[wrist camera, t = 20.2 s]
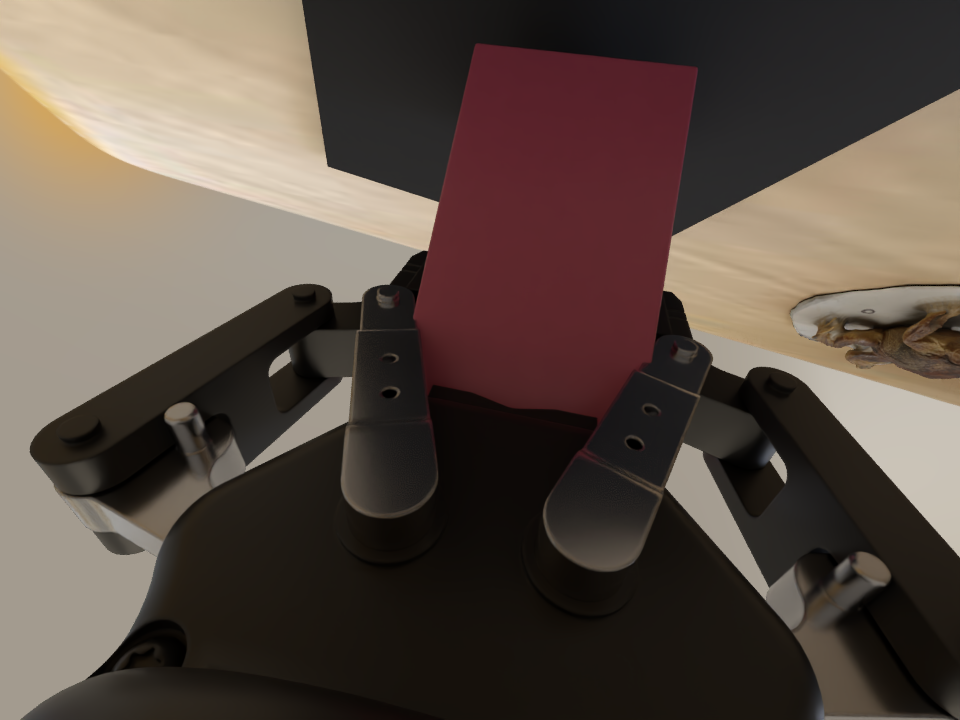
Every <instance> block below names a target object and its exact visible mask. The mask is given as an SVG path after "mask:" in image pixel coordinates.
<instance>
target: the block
mask: <svg viewBox="0 0 960 720" xmlns="http://www.w3.org/2000/svg"><path fill="white" fill-rule="evenodd" d="M697 73H698V68H697V67H695V66H685V65H676V64H667V63H658V62H648V61H639V60H630V59H621V58H611V57H602V56H593V55H584V54H574V53H565V52H556V51H547V50H537V49H528V48H519V47H510V46H500V45H491V44H482V43H477V44H476V45H475V47H474V52H473V56H472V60H471V65H470V69H469V74H468V78H467V82H466V87H465V91H464V96H463V100H462V104H461V109H460V113H459V117H458V122H457V126H456V131H455V135H454V139H453V144H452V148H451V153H450V157H449V161H448V166H447V170H446V175H445V179H444V183H443V188H442V192H441V196H440V201H439V205H438V210H437V214H436V218H435V223H434V227H433V232H432V236H431V240H430V245H429V249H428V254H427V258H426V262H425V267H424V271H423V275H422V280H421V284H420V289H419V293H418V297H417V302H416V306H415V311H414V315H413V319H415V320H417V326H418V329H420V334H421V342H422V351H423V360H424V368H425V377H426V386H427V394H428V395H429V392H430V390H431V388H432V386H433V385H438V386H443V387H448V388H453V389H458V390H462V391H467V392H472V393H475V394H477V395H480V396H482V397H485V398H487V399H490V400H492V401H495V402H497V403H500V404H502V405H505V406H507V407H510V408H516V409H557V410H562V411H566V412H571V413H576V414H581V415H586V416H591V417H596V418H597V425H598V424H599V422H600V421H601V419H602V418H603V416H604V414H605V413H606V411H607V410H608V408H609V407H610V405H611V404H612V402H613V400H614V399H615V397H616V396H617V394H618V393H619V391H620V389H621V388H622V386H623V385H624V383H625V382H626V380H627V379H628V377H629V375H630V374H631V372H632V371H633V370H634V369H636V370H638V369H639V368H640V366H641V365H642V363H643V362H646V363H651V362H652V357H653V351H654V344H655V338H656V332H657V325H658V319H659V313H660V307H661V300H662V294H663V288H664V281H665V275H666V269H667V262H668V256H669V250H670V243H671V237H672V231H673V224H674V218H675V212H676V205H677V199H678V193H679V186H680V180H681V174H682V167H683V161H684V155H685V148H686V142H687V136H688V130H689V123H690V117H691V111H692V104H693V98H694V92H695V85H696V79H697Z"/></svg>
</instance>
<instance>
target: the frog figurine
mask: <svg viewBox="0 0 960 720" xmlns="http://www.w3.org/2000/svg"><path fill="white" fill-rule="evenodd" d="M790 316H791V319H792V321H793V326H794V328H795V329H796V331H797V332H798V333H799V335H800V336H804V337H805V338H808V339H809V340H814V341H818V342H822V343H824V344H826V345H827V346H831V347H835V348H842V347H844V346H848V347H851V348H853V349H854V350H849V351H848V352H847V353H846V355H845V358H846V360H848V361H849V362H851V363H853V364H856V367H857V368H861V369H870V368H871V367H873V366H874V365H883V364H891V363H894V364H896V366H897V367H899V368H902V369H905V370H907V371H910V372H913V373H916V374H919V375H921V376H923V377H926V378H930V379H951V378H960V287H958V286H906V287H896V288H887V289H880V290H870V291H852V292H847V293H840V294H839V293H838V294H832V295H825V296H824V295H823V296H816V297H814V298H812V299H808V300H805V301H803V302H802V303H799V304H798V305H797V306H796V308H795V309H794V310H793V309H792V310H791V313H790Z"/></svg>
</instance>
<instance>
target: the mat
mask: <svg viewBox="0 0 960 720" xmlns="http://www.w3.org/2000/svg"><path fill="white" fill-rule="evenodd" d="M302 4H303V10H304V16H305V23H306V29H307V36H308V42H309V49H310V55H311V62H312V68H313V74H314V81H315V87H316V94H317V100H318V107H319V113H320V120H321V126H322V133H323V139H324V145H325V152H326V158H327V165H328V167H331V168H334V169H338V170H341V171H344V172H347V173H350V174H353V175H356V176H359V177H363V178H366V179H369V180H372V181H375V182H378V183H381V184H384V185H387V186H391V187H394V188H397V189H400V190H403V191H406V192H409V193H412V194H416V195H419V196H422V197H425V198H428V199H431V200H434V201H437V202H439V201H440V196H441V192H442V188H443V183H444V179H445V175H446V170H447V166H448V161H449V157H450V153H451V148H452V144H453V139H454V135H455V131H456V126H457V122H458V117H459V113H460V109H461V104H462V100H463V96H464V91H465V87H466V82H467V78H468V74H469V69H470V65H471V60H472V56H473V52H474V47H475V45H476V44H477V43H482V44H491V45H500V46H510V47H519V48H528V49H537V50H547V51H556V52H565V53H574V54H584V55H593V56H602V57H611V58H621V59H630V60H639V61H648V62H658V63H667V64H676V65H685V66H695V67H697V68H698V73H697V79H696V85H695V92H694V98H693V104H692V111H691V117H690V123H689V130H688V136H687V142H686V148H685V155H684V161H683V167H682V174H681V180H680V186H679V193H678V199H677V205H676V212H675V218H674V224H673V231H672V236H673V235H675V234H677V233H679V232H681V231H683V230H685V229H687V228H689V227H691V226H693V225H695V224H697V223H698V222H700V221H702V220H704V219H706V218H708V217H710V216H712V215H714V214H716V213H718V212H720V211H722V210H724V209H726V208H728V207H730V206H732V205H734V204H736V203H738V202H739V201H741V200H743V199H745V198H747V197H749V196H751V195H753V194H755V193H757V192H759V191H761V190H763V189H765V188H767V187H769V186H771V185H773V184H775V183H777V182H779V181H781V180H782V179H784V178H786V177H788V176H790V175H792V174H794V173H796V172H798V171H800V170H802V169H804V168H806V167H808V166H810V165H812V164H814V163H816V162H818V161H820V160H822V159H823V158H825V157H827V156H829V155H831V154H833V153H835V152H837V151H839V150H841V149H843V148H845V147H847V146H849V145H851V144H853V143H855V142H857V141H859V140H861V139H863V138H865V137H866V136H868V135H870V134H872V133H874V132H876V131H878V130H880V129H882V128H884V127H886V126H888V125H890V124H892V123H894V122H896V121H898V120H900V119H902V118H904V117H906V116H908V115H909V114H911V113H913V112H915V111H917V110H919V109H921V108H923V107H925V106H927V105H929V104H931V103H933V102H935V101H937V100H939V99H941V98H943V97H945V96H947V95H949V94H950V93H952V92H954V91H956V90H958V89H960V0H302Z"/></svg>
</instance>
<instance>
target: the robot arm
mask: <svg viewBox="0 0 960 720" xmlns="http://www.w3.org/2000/svg"><path fill="white" fill-rule="evenodd" d="M427 254H428V251H422V252H420V253H418V254H415V255H414V256H412V257H411V258H410V260H409V261H408V262H407V264H406V265H405V266H404V267H403V268H402V271H400V272H399V273H398V275H397V276H396V277H395V278H394V280H393V281H392V282H391V284H390V285H380V286H376V287H373V288H370V289H368V290H367V291H366V292H365V293H364V294H363V297H362V302H353V303H333V300H332V293H331V292H330V290H329V289H328V288H326V287H324V286H321V285H316V284H300V285H295V286H291V287H288V288H286V289H284V290H282V291H281V292H279V293H277V294H275V295H273V296H272V297H270V298H268V299H266V300H265V301H263V302H261V303H259V304H258V305H256V306H254V307H252V308H251V309H249V310H247V311H245V312H244V313H242V314H240V315H238V316H237V317H235V318H233V319H231V320H230V321H228V322H226V323H224V324H223V325H221V326H219V327H217V328H215V329H214V330H212V331H210V332H209V333H207V334H205V335H203V336H201V337H200V338H198V339H196V340H195V341H193V342H191V343H189V344H188V345H186V346H184V347H182V348H180V349H179V350H177V351H175V352H173V353H172V354H170V355H168V356H166V357H165V358H163V359H161V360H159V361H157V362H156V363H154V364H152V365H150V366H149V367H147V368H145V369H143V370H142V371H140V372H138V373H137V374H135V375H133V376H131V377H129V378H128V379H126V380H125V381H123V382H121V383H119V384H117V385H115V386H114V387H112V388H110V389H108V390H107V391H105V392H103V393H101V394H99V395H98V396H96V397H94V398H92V399H91V400H89V401H87V402H85V403H84V404H82V405H80V406H78V407H77V408H75V409H73V410H72V411H70V412H68V413H66V414H64V415H63V416H61V417H59V418H57V419H56V420H54V421H52V422H51V423H50V424H48V425H47V426H45V427H44V428H43V429H42V430H41V431H40V432H39V433H38V434H37V435H36V436H35V438H34V439H33V441H32V442H31V446H30V454H31V456H32V457H33V459H34V460H35V461H36V462H37V464H38V465H39V466H40V467H41V468H42V470H43V471H44V472H45V473H46V475H47V476H48V477H49V478H50V480H51V481H52V482H53V483H54V488H55V490H56V491H57V493H58V494H59V495H60V496H61V498H62V499H63V500H64V501H65V503H66V504H67V505H68V506H69V507H70V509H71V510H72V511H73V512H74V513H75V515H76V516H77V517H78V518H79V519H80V521H81V522H82V523H83V524H84V525H85V527H86V528H88V529H90V530H92V531H93V532H94V534H95V535H96V536H97V537H98V539H99V540H100V541H101V542H102V543H103V545H104V546H105V547H106V548H107V549H108V550H109V551H111V552H112V553H115V554H120V555H130V554H135V553H139V552H143V551H145V550H146V551H148V552H149V553H151V554H153V555H154V556H156V557H157V560H156V565H155V568H154V573H153V577H152V581H151V584H150V587H149V591H148V593H147V596H146V599H145V601H144V603H143V606H142V608H141V610H140V613H139V615H138V617H137V619H136V621H135V623H134V624H133V626H132V628H131V630H130V632H129V634H128V635H127V637H126V638H125V640H124V641H123V642H122V644H121V645H120V646H119V647H118V649H117V650H116V651H115V652H114V653H113V654H112V655H111V657H110V658H109V659H108V660H107V661H106V662H105V663H104V664H103V665H102V666H101V667H100V668H98V669H97V670H96V671H95V672H94V673H93V674H92V675H90V676H89V677H88V678H87V679H86V680H84V681H82V682H80V683H77V684H75V685H73V686H71V687H69V688H67V689H65V690H62V691H61V692H59V693H57V694H56V695H54V696H52V697H50V698H49V699H47V700H45V701H44V702H42V703H41V704H40V705H38V706H37V707H36V708H34V709H33V710H32V711H30V712H29V713H28V714H27V715H25V716H24V717H23V718H22V719H21V720H960V557H959V556H958V555H957V554H956V553H955V552H954V550H952V548H951V547H950V546H949V545H948V544H947V543H946V541H945V540H944V539H943V538H942V537H941V536H940V535H939V534H938V532H937V531H936V530H935V529H934V528H933V527H932V526H931V525H930V524H929V522H928V521H927V520H926V519H925V518H924V517H923V516H922V514H921V513H920V512H919V511H918V510H917V509H916V508H915V507H914V505H913V504H912V503H911V502H910V501H909V500H908V499H907V498H906V496H905V495H904V494H903V493H902V492H901V491H900V490H899V489H898V488H897V486H896V485H895V484H894V483H893V482H892V481H891V480H890V478H889V477H888V476H887V475H886V474H885V473H884V472H883V470H882V469H881V468H880V467H879V466H878V465H877V464H876V463H875V461H874V460H873V459H872V458H871V457H870V456H869V455H868V454H867V452H866V451H865V450H864V449H863V448H862V447H861V446H860V445H859V443H858V442H857V441H856V440H855V439H854V438H853V437H852V436H851V434H850V433H849V432H848V431H847V430H846V429H845V428H844V427H843V426H842V424H841V423H840V422H839V421H838V420H837V419H836V418H835V416H834V415H833V414H832V413H831V412H830V411H829V410H828V408H827V407H826V406H825V405H824V404H823V403H822V402H821V401H820V399H819V398H818V397H817V396H816V395H815V394H814V393H813V392H812V390H811V389H810V388H809V387H808V386H807V385H806V384H805V383H803V382H802V381H801V380H799V379H798V378H797V377H795V376H793V375H791V374H789V373H787V372H784V371H781V370H778V369H775V368H770V367H756V368H753V369H751V370H750V371H749V373H748V374H747V376H746V378H745V379H744V378H741V377H738V376H736V375H733V374H730V373H727V372H725V371H722V370H720V369H718V368H716V367H714V366H712V365H711V364H712V361H713V356H712V354H711V352H710V351H709V350H708V349H707V348H706V347H705V346H704V345H702V344H701V343H699V342H697V341H695V340H693V337H692V334H691V331H690V328H689V324H688V321H686V320H687V318H686V315H685V313H684V308H683V305H682V302H681V301H680V300H679V299H678V298H677V297H676V296H675V295H674V294H673V293H672V292H667V291H663V294H662V300H661V307H660V313H659V319H658V325H657V332H656V338H655V344H654V351H653V357H652V362H651V363H646V362H643V363H642V365H641V366H640V368H639V369H638V370H636V369H634V370H633V371H632V372H631V374H630V375H629V377H628V379H627V380H626V382H625V383H624V385H623V386H622V388H621V389H620V391H619V393H618V394H617V396H616V397H615V399H614V400H613V402H612V404H611V405H610V407H609V408H608V410H607V411H606V413H605V414H604V416H603V418H602V419H601V421H600V422H599V424H598V425H597V418H596V417H591V416H586V415H581V414H576V413H571V412H566V411H562V410H557V409H516V408H510V407H507V406H505V405H502V404H500V403H497V402H495V401H492V400H490V399H487V398H485V397H482V396H480V395H477V394H475V393H472V392H467V391H462V390H458V389H453V388H448V387H443V386H438V385H433V386H432V388H431V390H430V392H429V395H428V394H427V386H426V377H425V368H424V360H423V351H422V342H421V334H420V329H418V326H417V320H415V319H413V315H414V311H415V306H416V302H417V297H418V293H419V289H420V284H421V280H422V275H423V271H424V267H425V262H426V258H427ZM288 349H289V353H290V357H291V362H290V363H288V364H287V365H286V366H284V367H283V368H281V369H280V370H279V371H277V372H276V373H275V374H273V375H272V376H271V377H269V376H268V375H269V374H268V372H269V368H270V365H271V364H272V362H273V361H274V359H275V358H277V357H278V356H279V355H281V354H282V353H284V352H285V351H286V350H288ZM343 377H352V387H351V401H350V413H349V422H347V423H345V424H343V425H341V426H339V427H337V428H335V429H332V430H330V431H328V432H327V433H324V434H322V435H320V436H318V437H316V438H314V439H312V440H310V441H308V442H306V443H304V444H302V445H300V446H298V447H296V448H294V449H292V450H290V451H287V452H285V453H283V454H281V455H279V456H277V457H275V458H273V459H271V460H269V461H267V462H265V463H263V464H261V465H259V466H257V467H255V468H253V469H251V470H249V471H247V472H245V469H246V466H247V465H248V464H249V463H250V462H252V461H253V460H254V459H255V458H256V457H257V456H258V455H259V454H261V453H262V452H263V451H264V450H265V449H266V448H267V447H268V446H270V445H271V444H272V443H273V442H274V441H275V440H276V439H277V438H279V437H280V436H281V435H282V434H283V433H284V432H285V431H286V430H287V429H289V428H290V427H291V426H292V425H293V424H294V423H295V422H296V421H298V420H299V419H300V418H301V417H302V416H303V415H304V414H305V413H306V412H308V411H309V410H310V409H311V408H312V407H313V406H314V405H315V404H317V403H318V402H319V401H320V400H321V399H322V398H323V397H324V396H325V395H326V394H328V393H329V392H330V391H331V390H332V389H333V388H334V387H335V386H337V385H338V384H339V383H340V382H341V380H342V378H343ZM682 443H685V444H688V445H690V446H692V447H695V448H697V449H699V450H701V451H703V457H704V460H705V463H706V464H707V466H708V468H709V470H710V472H711V474H712V476H713V478H714V480H715V482H716V484H717V486H718V488H719V490H720V492H721V494H722V496H723V498H724V500H725V502H726V504H727V506H728V508H729V510H730V512H731V514H732V516H733V518H734V520H735V521H736V523H737V525H738V527H739V529H740V531H741V533H742V535H743V537H744V539H745V541H746V543H747V545H748V547H749V549H750V551H751V553H752V555H753V557H754V559H755V561H756V563H757V565H758V567H759V568H760V570H761V573H762V574H763V576H764V578H765V580H766V582H767V584H768V586H769V590H768V592H767V596H766V600H765V599H764V598H763V597H762V596H761V595H760V594H759V593H758V592H757V590H756V589H755V588H754V587H753V586H752V585H751V584H750V583H749V581H748V580H747V579H746V578H745V577H744V576H743V575H742V573H741V572H740V571H739V570H738V569H737V568H736V567H735V566H734V564H733V563H732V562H731V561H730V560H729V559H728V558H727V557H726V555H725V554H724V553H723V552H722V551H721V550H720V549H719V548H718V546H717V545H716V544H715V543H714V542H713V541H712V540H711V539H710V538H709V536H708V535H707V534H706V533H705V532H704V531H703V530H702V528H701V527H700V526H699V525H698V524H697V523H696V522H695V521H694V519H693V518H692V517H691V516H690V515H689V514H688V513H687V511H686V510H685V509H684V508H683V507H682V506H681V505H680V504H679V503H678V501H677V500H676V499H675V498H674V497H673V496H672V495H671V494H670V492H669V491H668V490H667V489H666V488H665V485H666V483H667V481H668V478H669V476H670V473H671V471H672V468H673V466H674V463H675V460H676V458H677V455H678V453H679V450H680V448H681V445H682ZM776 451H777V453H778V454H779V456H780V457H781V459H782V460H783V462H784V463H785V466H786V469H787V481H786V483H784V482H783V480H782V479H781V477H780V476H779V474H778V473H777V471H776V470H775V468H774V467H773V465H772V463H771V462H770V459H771V458H772V456H773V455H774V453H775V452H776Z"/></svg>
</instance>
